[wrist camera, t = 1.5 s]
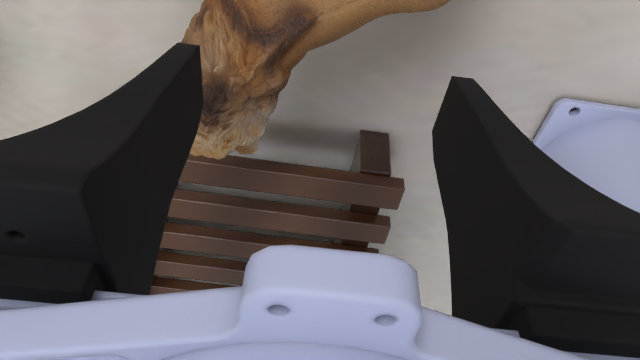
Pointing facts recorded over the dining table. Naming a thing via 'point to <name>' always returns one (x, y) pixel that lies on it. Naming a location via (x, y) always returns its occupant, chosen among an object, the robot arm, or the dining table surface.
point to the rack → (273, 212)
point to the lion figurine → (265, 58)
